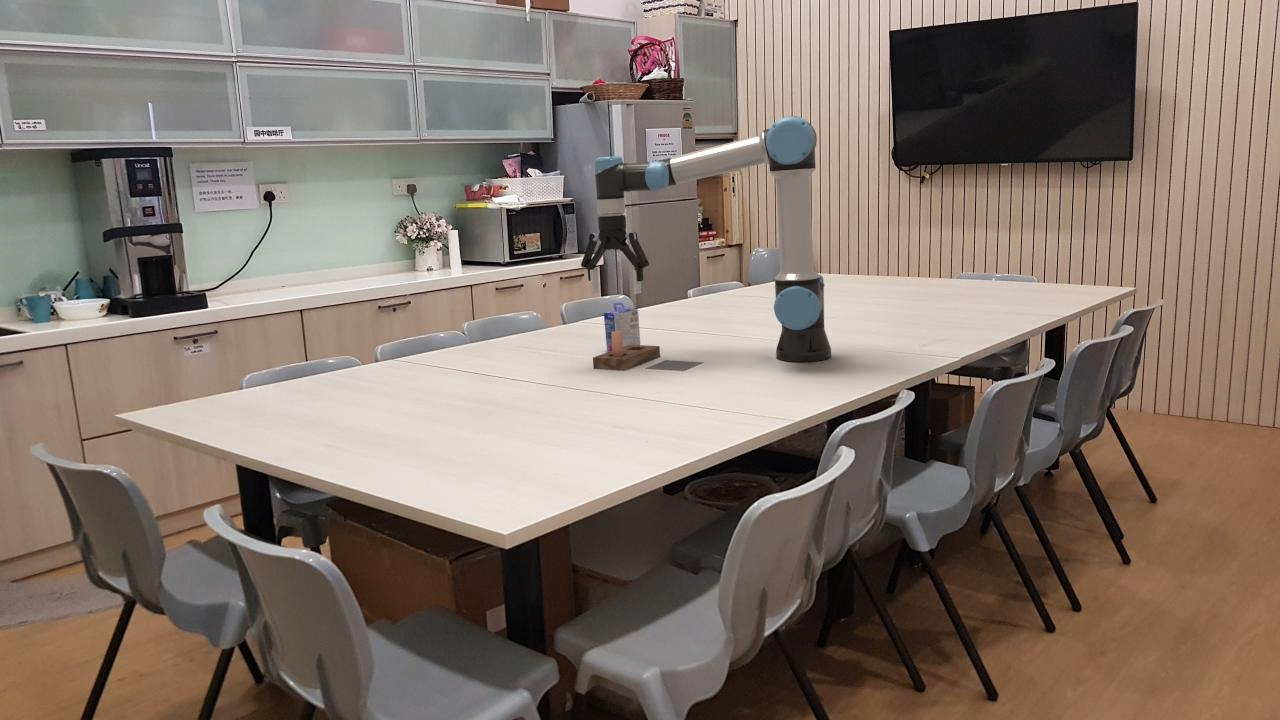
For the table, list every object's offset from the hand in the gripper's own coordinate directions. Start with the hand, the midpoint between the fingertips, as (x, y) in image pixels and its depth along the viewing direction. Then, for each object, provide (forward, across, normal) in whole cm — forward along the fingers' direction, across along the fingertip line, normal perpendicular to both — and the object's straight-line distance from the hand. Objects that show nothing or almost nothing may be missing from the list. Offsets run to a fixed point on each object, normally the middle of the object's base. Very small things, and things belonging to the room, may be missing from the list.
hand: (616, 293), depth 272 cm
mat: (+21, -15, -4) cm, 26 cm away
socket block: (+21, 0, -4) cm, 21 cm away
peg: (+21, 0, 0) cm, 21 cm away
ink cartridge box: (+21, +12, -23) cm, 33 cm away
